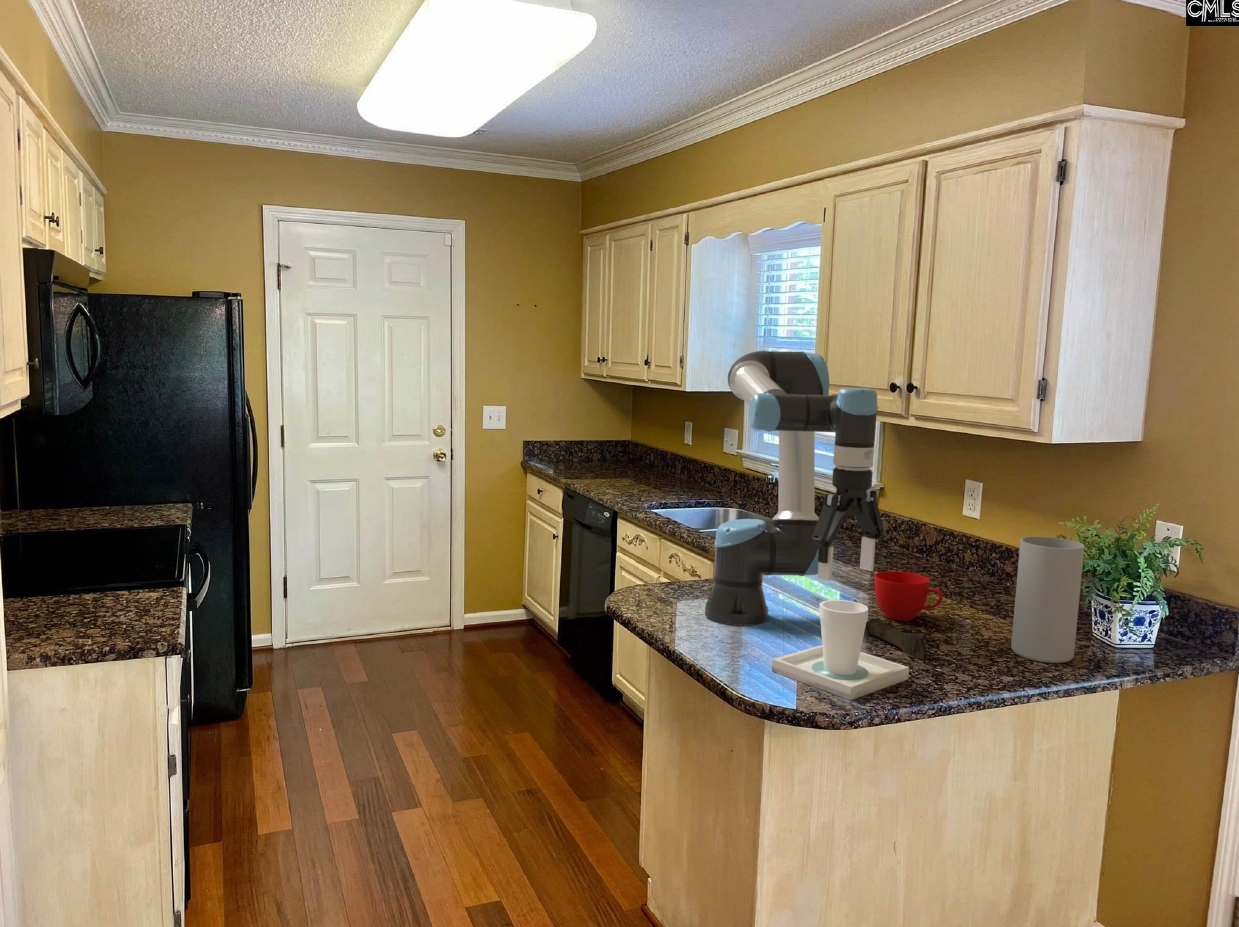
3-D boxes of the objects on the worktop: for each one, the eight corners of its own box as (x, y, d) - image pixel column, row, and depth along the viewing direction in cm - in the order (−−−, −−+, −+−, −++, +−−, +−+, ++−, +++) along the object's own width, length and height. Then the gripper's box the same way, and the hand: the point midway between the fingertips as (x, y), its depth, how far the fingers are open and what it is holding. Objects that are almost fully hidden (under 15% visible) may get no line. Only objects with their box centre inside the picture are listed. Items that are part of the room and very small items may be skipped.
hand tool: (864, 635, 215) (865, 615, 215) (879, 633, 216) (880, 614, 216) (912, 662, 197) (914, 641, 197) (929, 661, 199) (930, 639, 198)
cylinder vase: (1012, 659, 201) (1022, 544, 198) (1009, 642, 212) (1019, 534, 209) (1076, 667, 197) (1087, 551, 193) (1070, 650, 208) (1080, 540, 205)
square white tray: (771, 671, 188) (772, 659, 188) (830, 653, 200) (830, 642, 200) (850, 700, 174) (851, 687, 174) (908, 679, 186) (908, 667, 186)
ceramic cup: (928, 632, 218) (931, 590, 217) (862, 616, 230) (865, 576, 228) (951, 621, 228) (954, 581, 227) (887, 606, 239) (889, 568, 238)
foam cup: (873, 676, 184) (877, 611, 182) (830, 679, 181) (834, 614, 180) (848, 660, 193) (852, 598, 191) (807, 663, 190) (811, 600, 189)
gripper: (828, 474, 171) (821, 587, 174) (906, 466, 187) (898, 569, 190) (796, 469, 177) (790, 578, 179) (874, 461, 193) (867, 562, 196)
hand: (845, 574), depth 185 cm, fingers open, 13 cm apart
